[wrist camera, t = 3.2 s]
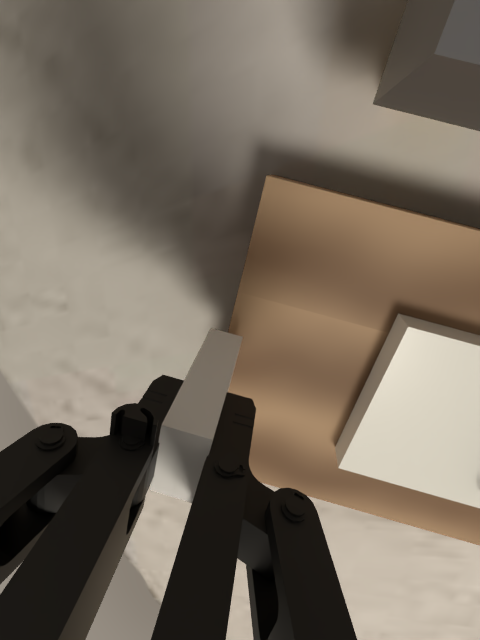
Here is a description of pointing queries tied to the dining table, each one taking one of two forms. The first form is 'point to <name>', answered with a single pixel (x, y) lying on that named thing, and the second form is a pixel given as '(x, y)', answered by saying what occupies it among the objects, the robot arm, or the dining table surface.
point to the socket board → (341, 334)
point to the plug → (435, 63)
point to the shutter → (420, 413)
